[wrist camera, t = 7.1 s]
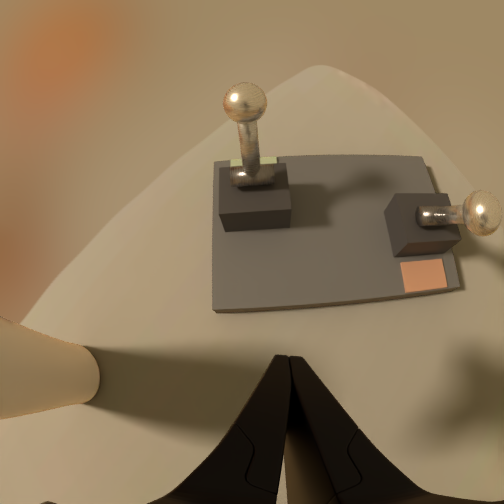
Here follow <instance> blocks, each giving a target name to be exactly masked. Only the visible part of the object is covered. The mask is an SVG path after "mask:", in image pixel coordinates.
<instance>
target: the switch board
mask: <svg viewBox="0 0 504 504" xmlns="http://www.w3.org/2000/svg"><path fill="white" fill-rule="evenodd" d="M270 164H274V173H275V184H270V185H255V186H242V187H231V183H230V167H242V166H243V165H242V159H233V160H228V161H217V162H214V180H213V229H212V309H213V311H215V312H216V313H230V312H252V311H269V310H285V309H299V308H312V307H324V306H335V305H345V304H355V303H365V302H374V301H383V300H391V299H399V298H407V297H415V296H422V295H429V294H436V293H443V292H449V291H453V290H455V289H457V288H458V287H460V284H459V279H458V274H457V269H456V265H455V260H454V256H453V252H452V248H451V247H453V246H454V245H455V244H456V243H458V242H459V241H460V240H461V236H460V233H459V229H458V226H457V224H454V225H442V226H418V225H417V223H416V219H415V211H416V208H417V207H418V206H451V203H450V200H449V197H448V194H447V193H435V190H434V187H433V184H432V182H431V179H430V176H429V173H428V171H427V168H426V165H425V163H424V160H423V158H422V157H418V156H396V155H306V156H283V157H276V156H273V157H260V165H270Z"/></svg>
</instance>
